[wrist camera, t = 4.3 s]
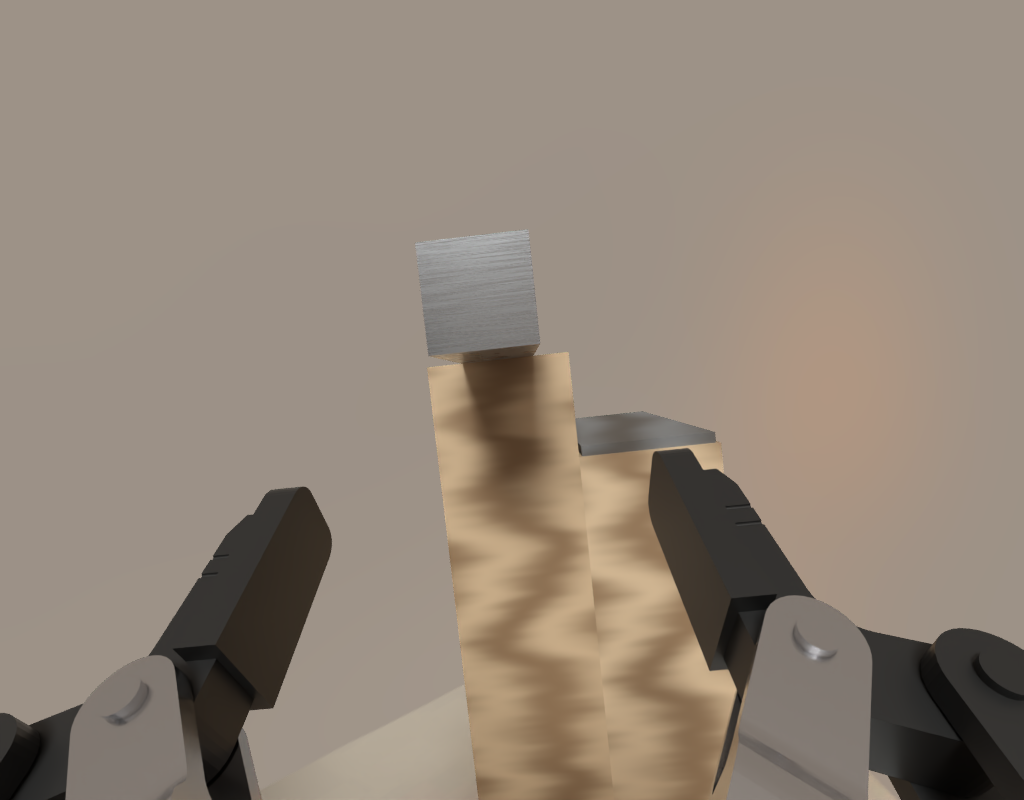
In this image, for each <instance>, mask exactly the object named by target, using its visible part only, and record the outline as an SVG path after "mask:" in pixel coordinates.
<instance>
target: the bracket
mask: <svg viewBox="0 0 1024 800" xmlns="http://www.w3.org/2000/svg"><path fill="white" fill-rule="evenodd" d="M427 370H428V378H429V386H430V395H431V403H432V411H433V420H434V428H435V437H436V445H437V454H438V462H439V470H440V478H441V487H442V496H443V503H444V512H445V521H446V529H447V538H448V546H449V554H450V563H451V571H452V579H453V588H454V597H455V605H456V613H457V622H458V630H459V638H460V647H461V655H462V664H463V672H464V680H465V689H466V697H467V706H468V714H469V723H470V731H471V739H472V748H473V756H474V765H475V773H476V781H477V790H478V798H479V800H708V797H709V794H710V790H711V786H712V782H713V778H714V774H715V770H716V766H717V762H718V758H719V754H720V750H721V746H722V742H723V739H724V735H725V731H726V727H727V723H728V719H729V715H730V711H731V707H732V703H733V699H734V695H735V692H736V686H735V684H734V682H733V679H732V677H731V675H730V672H729V670H728V669H727V670H716V671H709V668H708V666H707V663H706V661H705V658H704V655H703V653H702V650H701V648H700V645H699V643H698V640H697V638H696V635H695V633H694V630H693V627H692V625H691V622H690V620H689V617H688V615H687V612H686V610H685V607H684V604H683V602H682V599H681V597H680V594H679V592H678V589H677V587H676V584H675V581H674V579H673V576H672V574H671V571H670V569H669V566H668V564H667V561H666V559H665V556H664V553H663V551H662V548H661V546H660V543H659V541H658V538H657V536H656V533H655V530H654V528H653V525H652V522H651V518H650V514H649V506H648V495H649V485H650V474H651V464H652V456H653V453H654V452H655V451H663V450H673V449H683V448H689V449H690V450H691V451H692V452H693V453H694V455H695V457H696V458H697V460H698V462H699V463H700V465H701V467H702V468H703V470H707V469H718V470H719V471H721V472H722V473H723V474H724V472H723V460H722V448H721V443H720V442H717V441H716V439H715V432H712V431H709V430H705V429H702V428H699V427H695V426H692V425H688V424H685V423H681V422H677V421H674V420H671V419H667V418H664V417H660V416H657V415H653V414H649V413H646V412H643V411H642V412H633V413H623V414H614V415H604V416H595V417H586V418H577V419H575V411H574V401H573V392H572V382H571V372H570V362H569V353H568V352H564V353H556V354H545V355H537V356H527V357H518V358H509V359H500V360H491V361H482V362H473V363H464V364H455V365H446V366H437V367H428V368H427Z"/></svg>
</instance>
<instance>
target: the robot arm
mask: <svg viewBox="0 0 1024 800" xmlns="http://www.w3.org/2000/svg"><path fill="white" fill-rule="evenodd" d="M648 506H649V514H650V518H651V522H652V525H653V528H654V530H655V533H656V536H657V538H658V541H659V543H660V546H661V548H662V551H663V553H664V556H665V559H666V561H667V564H668V566H669V569H670V571H671V574H672V576H673V579H674V581H675V584H676V587H677V589H678V592H679V594H680V597H681V599H682V602H683V604H684V607H685V610H686V612H687V615H688V617H689V620H690V622H691V625H692V627H693V630H694V633H695V635H696V638H697V640H698V643H699V645H700V648H701V650H702V653H703V655H704V658H705V661H706V663H707V666H708V668H709V671H716V670H727V669H728V670H729V672H730V675H731V677H732V679H733V682H734V684H735V686H736V692H735V695H734V699H733V703H732V707H731V711H730V715H729V719H728V723H727V727H726V731H725V735H724V739H723V742H722V746H721V750H720V754H719V758H718V762H717V766H716V770H715V774H714V778H713V782H712V786H711V790H710V794H709V797H708V800H868V775H869V770H871V771H875V772H878V773H882V774H885V775H888V777H889V779H890V780H891V782H892V784H893V786H894V788H895V790H896V791H897V793H898V795H899V797H900V799H901V800H1024V650H1022V649H1021V648H1019V647H1018V646H1016V645H1014V644H1012V643H1010V642H1008V641H1006V640H1004V639H1002V638H1000V637H997V636H995V635H992V634H989V633H986V632H982V631H979V630H973V629H963V628H958V629H951V630H948V631H945V632H944V633H942V634H941V635H940V636H939V637H938V638H937V639H936V641H935V642H934V643H933V644H929V643H924V642H919V641H914V640H909V639H904V638H900V637H895V636H890V635H885V634H881V633H876V632H872V631H868V630H865V629H862V628H859V627H857V626H855V624H854V623H853V622H851V621H850V620H849V619H848V618H847V617H846V616H845V615H844V614H842V613H841V612H840V611H838V610H836V609H835V608H833V607H832V606H830V605H828V604H826V603H824V602H822V601H819V600H816V599H815V598H814V597H813V596H812V595H811V593H810V592H809V591H808V589H807V588H806V586H805V585H804V583H803V582H802V580H801V579H800V577H799V576H798V575H797V573H796V571H795V570H794V568H793V567H792V566H791V565H790V562H789V561H788V560H787V558H786V557H785V555H784V554H783V552H782V551H781V549H780V548H779V546H778V544H777V543H776V542H775V540H774V539H773V537H772V536H771V534H770V533H769V531H768V530H767V528H766V527H765V525H762V523H761V519H760V518H759V516H758V515H757V513H756V512H755V510H754V509H753V508H751V506H750V503H749V501H748V500H747V498H746V497H745V495H744V494H743V492H742V491H741V489H740V488H739V486H738V485H737V484H736V483H735V482H734V481H732V480H731V479H730V478H728V477H727V476H726V475H724V474H723V473H722V472H721V471H719V470H718V469H707V470H703V468H702V467H701V465H700V463H699V462H698V460H697V458H696V457H695V455H694V453H693V452H692V451H691V450H690V449H689V448H683V449H673V450H663V451H655V452H654V453H653V456H652V464H651V474H650V485H649V495H648ZM331 547H332V539H331V533H330V530H329V527H328V526H327V523H326V521H325V519H324V517H323V515H322V513H321V512H320V509H319V507H318V505H317V503H316V501H315V499H314V497H313V495H312V493H311V491H310V490H309V489H308V488H306V487H295V488H285V489H275V490H270V491H269V492H268V493H267V494H266V495H265V496H264V498H263V499H262V501H261V503H260V504H259V506H258V508H257V510H256V511H255V513H254V514H253V515H247V516H246V517H245V518H244V519H243V520H242V521H241V522H240V523H239V524H238V525H236V526H235V527H234V528H233V529H232V530H231V531H230V532H229V533H228V534H227V535H226V536H225V538H224V540H223V541H222V543H221V544H220V546H219V547H218V549H217V550H216V552H215V554H214V555H213V557H214V558H213V560H210V561H209V563H208V565H207V566H206V568H205V569H204V571H203V572H202V577H201V578H199V579H198V580H197V582H196V583H195V585H194V586H193V588H192V590H191V591H190V593H189V594H188V596H187V597H186V599H185V601H184V602H183V604H182V605H181V607H180V608H179V610H178V612H177V613H176V615H175V616H174V618H173V619H172V621H171V622H170V624H169V626H168V627H167V629H166V630H165V632H164V633H163V635H162V636H161V638H160V640H159V641H158V643H157V644H156V646H155V647H154V649H153V650H152V652H151V653H150V654H149V656H147V657H143V658H140V659H138V660H135V661H133V662H131V663H129V664H127V665H125V666H124V667H122V668H121V669H119V670H117V671H116V672H115V673H113V674H112V675H111V676H110V677H108V678H107V679H106V680H105V681H104V682H102V683H101V684H100V685H99V686H98V687H97V688H96V689H95V690H94V691H93V692H92V693H91V695H90V696H89V697H88V698H87V700H86V701H85V702H84V704H81V705H79V706H76V707H74V708H71V709H69V710H66V711H64V712H61V713H59V714H56V715H54V716H51V717H49V718H46V719H44V720H41V721H39V722H36V723H33V724H31V725H27V724H25V723H23V722H22V721H20V720H18V719H17V718H15V717H13V716H12V715H10V714H6V713H0V800H262V798H261V794H260V790H259V786H258V781H257V777H256V773H255V769H254V764H253V760H252V756H251V752H250V748H249V743H248V739H247V736H246V733H245V731H244V730H243V728H242V727H243V725H244V722H245V720H246V717H247V715H248V712H249V710H258V709H269V708H273V707H274V705H275V702H276V699H277V697H278V694H279V691H280V689H281V686H282V683H283V680H284V678H285V675H286V672H287V670H288V667H289V664H290V662H291V659H292V656H293V654H294V651H295V648H296V646H297V643H298V640H299V638H300V635H301V632H302V629H303V627H304V624H305V622H306V618H307V616H308V613H309V611H310V608H311V605H312V602H313V600H314V597H315V595H316V592H317V589H318V586H319V584H320V581H321V578H322V576H323V573H324V571H325V568H326V565H327V562H328V560H329V557H330V553H331Z"/></svg>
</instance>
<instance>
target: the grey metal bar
mask: <svg viewBox="0 0 1024 800" xmlns="http://www.w3.org/2000/svg"><path fill="white" fill-rule="evenodd" d="M415 246H416V254H417V263H418V271H419V280H420V288H421V296H422V305H423V313H424V322H425V329H426V339H427V347H428V355H429V356H430V357H435V358H439V359H443V360H448V361H452V362H457V363H462V364H464V363H473V362H482V361H491V360H500V359H509V358H518V357H527V356H533V355H534V353H535V352H536V350H537V348H538V347H539V345H540V337H539V328H538V318H537V308H536V299H535V290H534V280H533V270H532V261H531V251H530V242H529V232H528V230H519V231H510V232H502V233H493V234H485V235H477V236H468V237H459V238H451V239H442V240H434V241H425V242H417V243H415Z"/></svg>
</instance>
